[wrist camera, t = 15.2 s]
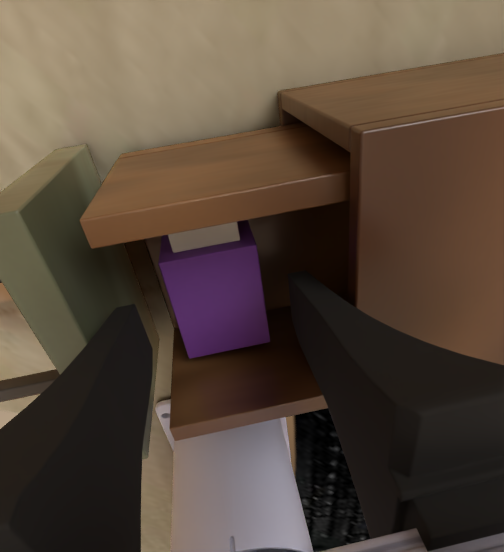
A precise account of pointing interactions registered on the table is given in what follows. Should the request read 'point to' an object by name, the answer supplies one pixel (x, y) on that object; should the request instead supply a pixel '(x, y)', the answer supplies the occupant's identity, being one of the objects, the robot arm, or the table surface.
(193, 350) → the purple eraser
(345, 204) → the drawer
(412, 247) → the cabinet
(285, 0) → the table surface
